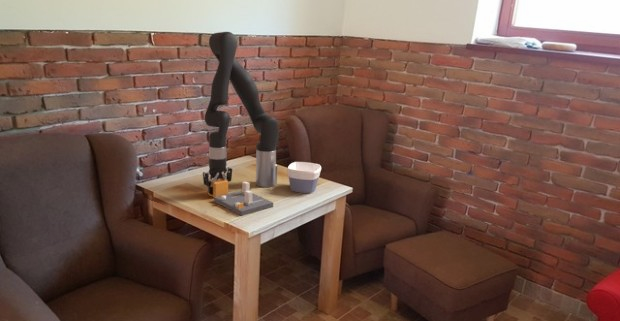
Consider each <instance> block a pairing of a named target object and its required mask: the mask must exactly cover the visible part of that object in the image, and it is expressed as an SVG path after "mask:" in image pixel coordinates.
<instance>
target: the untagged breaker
mask: <svg viewBox="0 0 620 321" xmlns="http://www.w3.org/2000/svg"><path fill="white" fill-rule="evenodd" d="M241 183H242V184H241V185H242V189H241V190H242V192H241V194H243V195H245V191H247V190H249V191H251V190H250V186H251V185H250V184H251V183H250V182H248V181H242V182H241Z"/></svg>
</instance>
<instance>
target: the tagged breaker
mask: <svg viewBox="0 0 620 321" xmlns="http://www.w3.org/2000/svg"><path fill="white" fill-rule="evenodd" d="M252 193H253V191H251V190H250V191H249V190H247V191H245V201H243V203H244V204H246V205H252V204H254V202H253V201H252Z"/></svg>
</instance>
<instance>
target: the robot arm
mask: <svg viewBox="0 0 620 321" xmlns="http://www.w3.org/2000/svg"><path fill="white" fill-rule="evenodd" d="M208 44H209V48H210V51H211V52H212V53H213V55H214V57H215V58H216V60H217V61H218V65H217V69H216V71H215V74H214V77H213V79H212V83H211V88H210V89H211V90H210V100H209V103H208V106H207V109H206V111H205V112H204V122H205V124H206V126H208V127H214V128H218V130H217V131H213V132H210V133H209V138H208V146H209V147H208V167H209V168H208V169H209V170H208V171H207V172H205V171H204V172H202V180H203V185H204V186H206V187H207V194H208V193H209V194H211V195H213V187H212V186H213V183H214V182H215V181H216V180H217V179H223V180H227V181H228V183H229V182H232V180H233V179H232V177H233V168H231V167H229V166H228V165H227V134H228V130H229V126H230V122H231V116H230V114H229V113H228V111H224V110H218V109H219V106H224V105H227V103H228V99H229V85H230V83H231V86H232V87H233V89H234V91H235V92H236V94H237V96H238V98H239V99H240V101H241V102H242V105H243V106H244V108H245V110H246V112H247V113H248V116H249V118H250V121H251V123H252V126H253V128H254V129H255V131H256V132H257V133H258V134H260V138H259V139H260V140H259V142H257V143H256V148H255V150H256V153H255V154H256V155H255V158H256V159H255V161H256V163H255V185H256V186H258V187H260V188H270V187H274V186H276V185H277V184H278V165H277V163H276V162H277V146H278V143H279V135H280V126H279V121H278V119H276V118H275V117H273V116H271V115H268V114H267V112H266V111H265V109H264V108H263V105H262V104H261V102H260V92H259V89H258V87H257V84H256V83H255V81H254V78H253V77H252V75H251V74H250V72H248V71H247V69H246V68H245V67H243V66H242V65H241V63H239V62H238V60H237V58H236V52H237V47H238V39H237V37H236V35H235V34H234V33H232V32H230V31H220V32H219V31H218V32H214V33H213V34H211V35H210V37H209V39H208ZM227 166H228V167H227ZM212 179H213V180H212Z"/></svg>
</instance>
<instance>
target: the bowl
mask: <svg viewBox="0 0 620 321" xmlns="http://www.w3.org/2000/svg"><path fill="white" fill-rule="evenodd" d="M321 171H322V166H321V165H320V163H319V164H318V163H313V162H307V161H306V162H305V161H294V162H291V163H290V164H289V165H288V167H287V169H286V172H287V176H288V182H289V186H290V190H291V191H292V192H296V193H303V194H311V193H314V192H315V191H316V189H317V185H318V182H319V178H320V175H321Z"/></svg>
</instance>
